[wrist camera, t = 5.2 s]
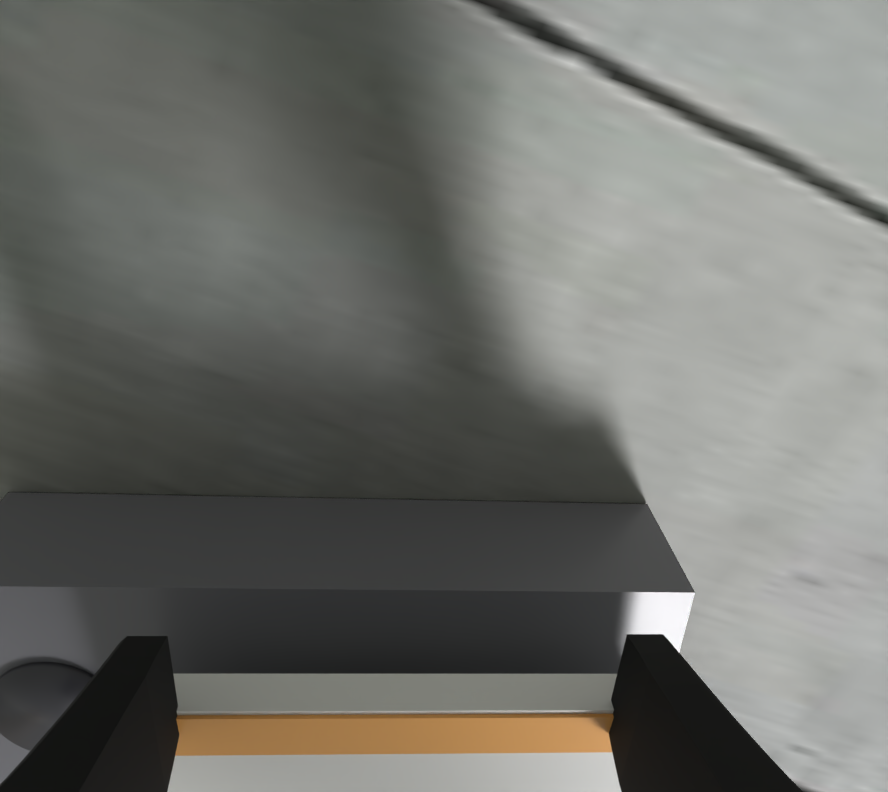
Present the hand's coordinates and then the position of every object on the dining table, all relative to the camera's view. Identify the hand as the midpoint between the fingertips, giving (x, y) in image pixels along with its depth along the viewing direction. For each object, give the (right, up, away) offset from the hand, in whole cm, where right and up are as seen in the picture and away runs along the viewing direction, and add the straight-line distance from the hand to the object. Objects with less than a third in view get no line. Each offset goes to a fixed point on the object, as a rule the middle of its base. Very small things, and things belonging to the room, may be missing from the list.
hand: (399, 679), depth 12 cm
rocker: (0, -2, +2) cm, 3 cm away
